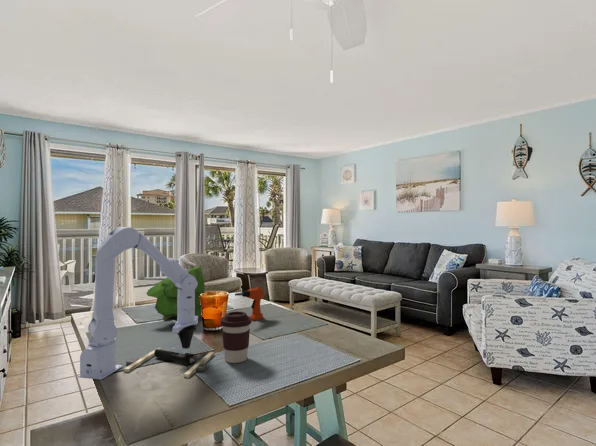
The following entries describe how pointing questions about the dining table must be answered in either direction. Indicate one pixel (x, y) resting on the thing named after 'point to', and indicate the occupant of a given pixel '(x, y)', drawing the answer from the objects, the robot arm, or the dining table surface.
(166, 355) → the black flashlight
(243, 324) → the coffee cup
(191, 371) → the joist track
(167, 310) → the decorative tree
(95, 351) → the robot arm
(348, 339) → the dining table surface
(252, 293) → the toy drill
